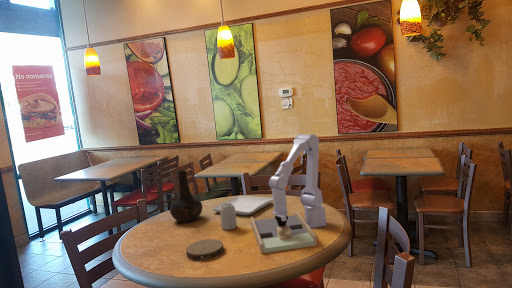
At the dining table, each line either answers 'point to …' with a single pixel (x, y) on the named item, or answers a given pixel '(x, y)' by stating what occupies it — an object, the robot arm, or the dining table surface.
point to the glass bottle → (185, 202)
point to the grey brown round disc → (204, 249)
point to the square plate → (245, 204)
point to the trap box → (272, 243)
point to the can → (228, 216)
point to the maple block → (283, 232)
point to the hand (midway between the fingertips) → (282, 231)
